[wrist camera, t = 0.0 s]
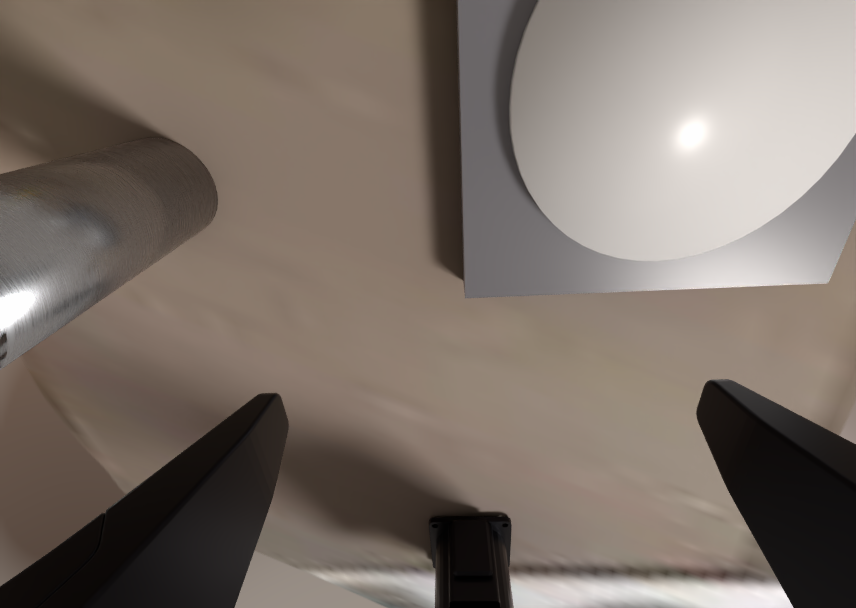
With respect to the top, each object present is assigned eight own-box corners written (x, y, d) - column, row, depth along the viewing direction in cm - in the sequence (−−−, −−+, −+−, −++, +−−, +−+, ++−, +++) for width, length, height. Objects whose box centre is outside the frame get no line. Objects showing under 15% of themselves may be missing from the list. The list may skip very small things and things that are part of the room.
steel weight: (229, 232, 23) (24, 395, 12) (140, 237, 23) (-144, 401, 12) (199, 134, 21) (-96, 219, 9) (100, 140, 21) (-303, 230, 10)
